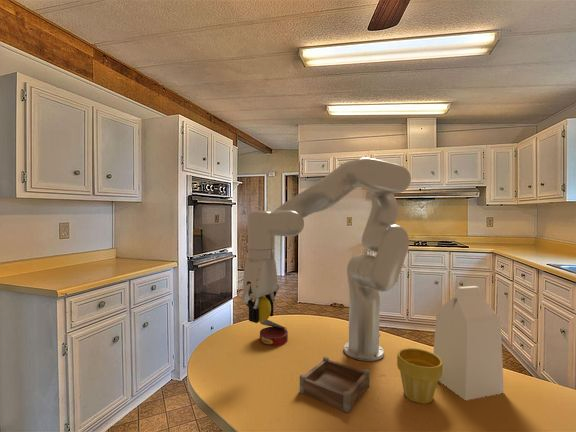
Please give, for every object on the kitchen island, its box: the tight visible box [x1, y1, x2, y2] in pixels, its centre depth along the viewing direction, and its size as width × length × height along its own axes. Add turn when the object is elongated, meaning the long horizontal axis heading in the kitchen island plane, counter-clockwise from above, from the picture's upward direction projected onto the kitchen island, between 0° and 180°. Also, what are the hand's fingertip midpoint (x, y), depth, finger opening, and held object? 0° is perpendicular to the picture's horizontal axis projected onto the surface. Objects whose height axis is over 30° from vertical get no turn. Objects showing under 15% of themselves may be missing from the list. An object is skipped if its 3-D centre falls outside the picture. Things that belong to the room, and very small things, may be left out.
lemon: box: [252, 296, 271, 324], centre depth 88 cm, size 6×6×8 cm
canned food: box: [259, 319, 289, 347], centre depth 109 cm, size 11×10×10 cm
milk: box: [433, 285, 505, 401], centre depth 82 cm, size 12×12×26 cm
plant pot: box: [396, 347, 443, 404], centre depth 77 cm, size 10×10×10 cm
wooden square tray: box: [299, 356, 371, 414], centre depth 80 cm, size 14×14×4 cm
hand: (261, 317), depth 88 cm, fingers closed on lemon, 5 cm apart
